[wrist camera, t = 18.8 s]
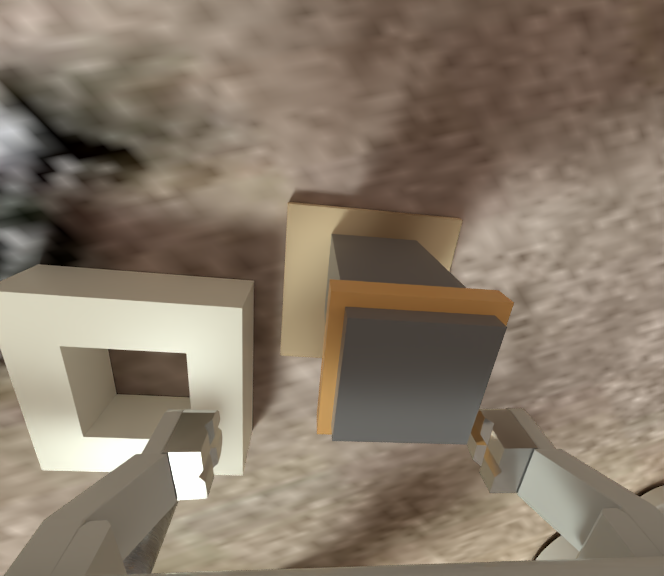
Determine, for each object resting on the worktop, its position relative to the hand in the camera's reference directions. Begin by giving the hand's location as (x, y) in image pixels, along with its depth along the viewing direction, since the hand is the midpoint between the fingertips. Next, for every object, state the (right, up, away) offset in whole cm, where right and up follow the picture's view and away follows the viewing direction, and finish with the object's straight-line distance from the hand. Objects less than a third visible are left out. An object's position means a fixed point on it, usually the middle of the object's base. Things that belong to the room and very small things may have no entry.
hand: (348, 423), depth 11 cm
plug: (+1, +5, +6) cm, 7 cm away
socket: (-10, +1, +7) cm, 12 cm away
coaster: (+1, +4, +6) cm, 8 cm away
